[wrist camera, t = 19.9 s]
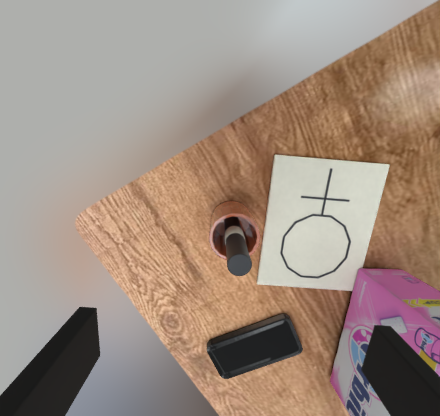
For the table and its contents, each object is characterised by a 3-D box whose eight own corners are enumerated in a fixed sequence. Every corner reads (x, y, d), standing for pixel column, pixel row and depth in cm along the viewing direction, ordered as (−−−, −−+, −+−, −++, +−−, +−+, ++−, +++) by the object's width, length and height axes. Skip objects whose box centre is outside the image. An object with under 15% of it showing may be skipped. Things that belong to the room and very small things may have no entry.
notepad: (274, 154, 30) (275, 154, 30) (386, 164, 31) (390, 164, 30) (256, 282, 35) (257, 284, 34) (354, 289, 36) (356, 291, 35)
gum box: (366, 385, 40) (447, 497, 27) (326, 386, 40) (389, 502, 26) (403, 268, 35) (527, 338, 22) (356, 266, 34) (456, 339, 21)
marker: (224, 213, 32) (227, 252, 19) (240, 214, 32) (253, 254, 19) (223, 228, 32) (225, 275, 20) (238, 229, 32) (250, 277, 20)
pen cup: (212, 199, 32) (211, 211, 25) (253, 202, 32) (263, 215, 25) (209, 237, 33) (207, 259, 27) (249, 240, 33) (256, 262, 27)
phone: (204, 347, 37) (289, 316, 35) (205, 341, 38) (287, 311, 36) (223, 381, 38) (304, 353, 37) (223, 374, 40) (302, 347, 38)
